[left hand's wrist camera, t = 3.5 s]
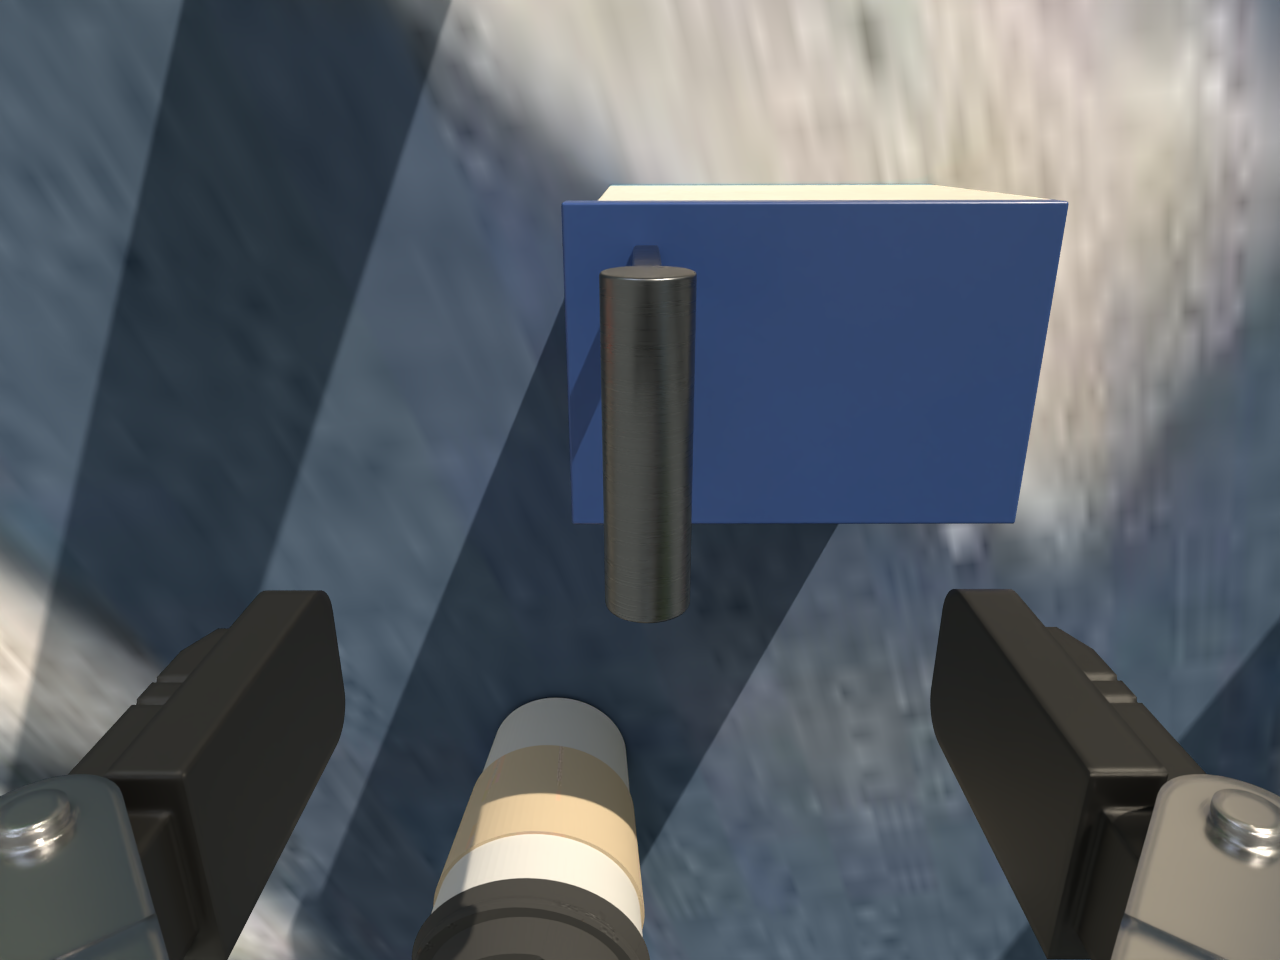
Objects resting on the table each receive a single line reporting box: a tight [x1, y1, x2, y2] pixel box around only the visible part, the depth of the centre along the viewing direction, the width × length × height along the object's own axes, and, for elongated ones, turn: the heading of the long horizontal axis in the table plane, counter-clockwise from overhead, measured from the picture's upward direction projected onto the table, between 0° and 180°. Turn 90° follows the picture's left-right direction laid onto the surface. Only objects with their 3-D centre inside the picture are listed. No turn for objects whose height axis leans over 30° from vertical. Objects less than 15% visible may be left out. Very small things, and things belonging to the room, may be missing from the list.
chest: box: [598, 184, 1050, 201], centre depth 31 cm, size 13×10×11 cm
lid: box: [561, 200, 1068, 623], centre depth 22 cm, size 14×10×9 cm
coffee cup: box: [412, 698, 650, 960], centre depth 37 cm, size 9×9×15 cm
